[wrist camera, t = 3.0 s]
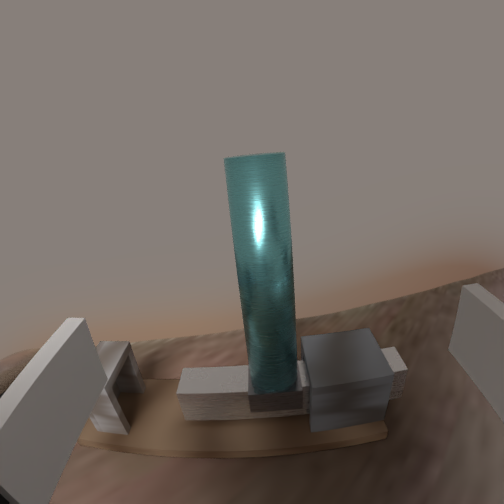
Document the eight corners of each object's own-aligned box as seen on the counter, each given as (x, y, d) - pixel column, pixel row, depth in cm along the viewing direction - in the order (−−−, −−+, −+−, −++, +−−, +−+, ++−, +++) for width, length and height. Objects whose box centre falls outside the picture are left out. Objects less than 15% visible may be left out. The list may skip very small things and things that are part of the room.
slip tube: (388, 371, 26) (403, 147, 20) (402, 400, 23) (431, 150, 16) (191, 391, 27) (143, 168, 21) (184, 423, 23) (121, 174, 17)
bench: (359, 371, 29) (365, 315, 27) (386, 438, 21) (401, 380, 19) (109, 384, 30) (89, 333, 28) (80, 445, 22) (47, 392, 20)
